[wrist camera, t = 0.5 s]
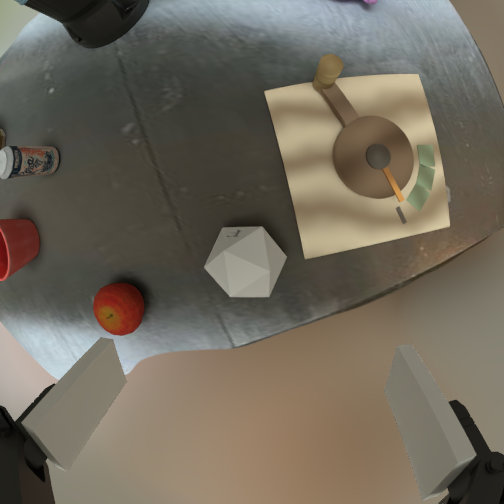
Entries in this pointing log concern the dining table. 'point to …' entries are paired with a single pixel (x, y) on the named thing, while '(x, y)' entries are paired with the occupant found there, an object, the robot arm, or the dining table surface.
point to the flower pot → (17, 245)
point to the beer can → (27, 161)
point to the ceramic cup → (2, 139)
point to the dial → (364, 142)
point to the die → (245, 261)
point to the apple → (119, 308)
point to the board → (327, 180)
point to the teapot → (370, 1)
